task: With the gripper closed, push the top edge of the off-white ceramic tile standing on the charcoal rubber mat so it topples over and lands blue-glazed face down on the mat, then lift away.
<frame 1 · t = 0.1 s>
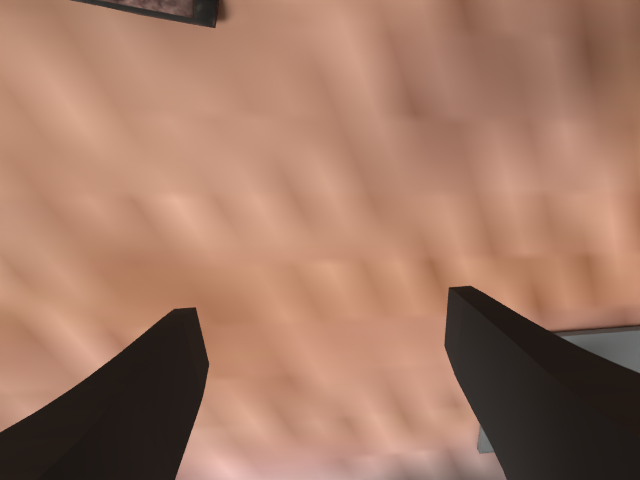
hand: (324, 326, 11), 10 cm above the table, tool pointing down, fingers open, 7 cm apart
mat: (580, 389, 26), on the table
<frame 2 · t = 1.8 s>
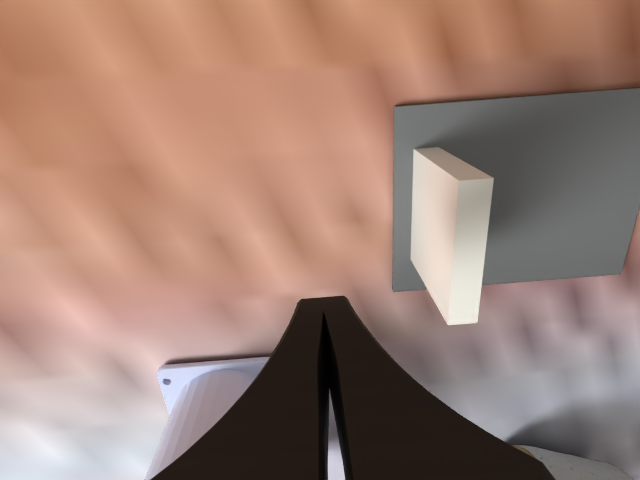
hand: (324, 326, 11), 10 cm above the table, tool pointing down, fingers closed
tile: (423, 206, 20), resting on mat
ceramic mug: (523, 472, 30), on the table
mat: (515, 196, 20), on the table
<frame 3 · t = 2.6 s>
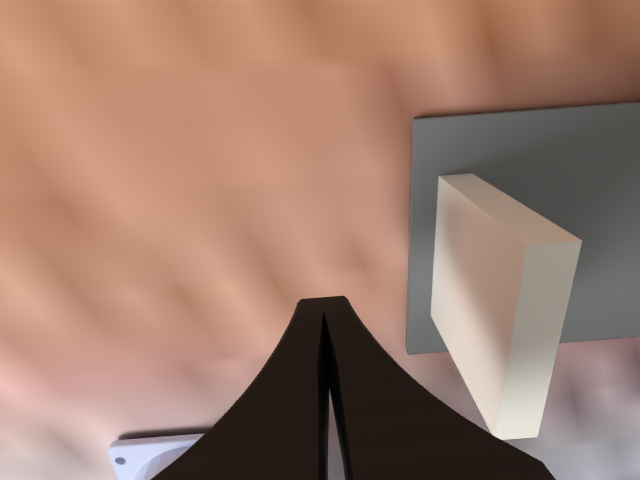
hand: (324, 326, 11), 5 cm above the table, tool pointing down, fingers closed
tile: (449, 250, 15), resting on mat
mat: (570, 236, 15), on the table
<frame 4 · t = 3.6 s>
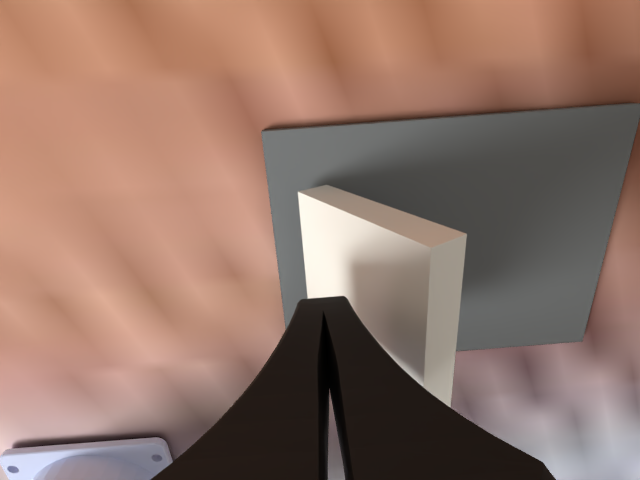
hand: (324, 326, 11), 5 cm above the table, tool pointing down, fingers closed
tile: (318, 263, 15), point 1 cm above the table, tilted 31°, touching mat
mat: (440, 246, 15), on the table
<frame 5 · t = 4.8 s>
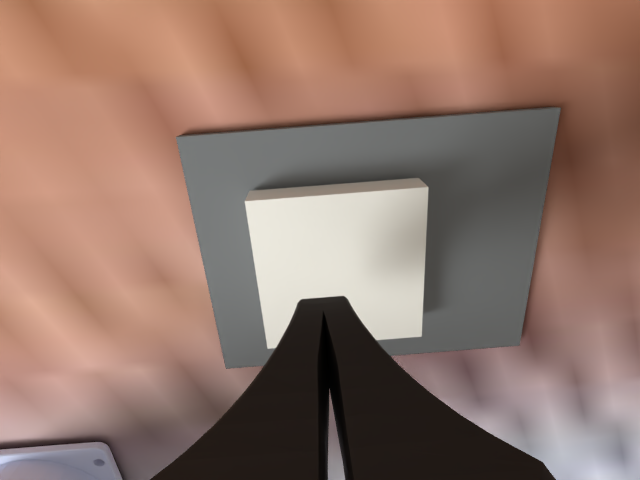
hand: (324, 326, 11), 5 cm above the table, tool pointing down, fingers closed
tile: (258, 273, 14), point 1 cm above the table, tilted 90°, touching mat
mat: (369, 251, 15), on the table
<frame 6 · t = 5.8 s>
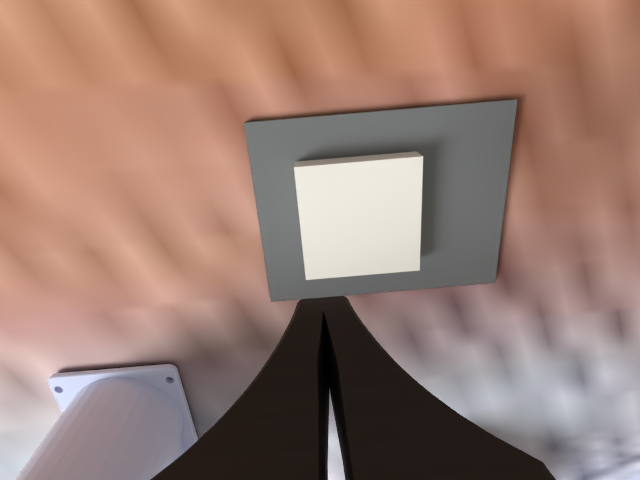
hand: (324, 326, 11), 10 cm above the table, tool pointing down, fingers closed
tile: (300, 222, 20), point 1 cm above the table, tilted 90°, touching mat
mat: (380, 208, 21), on the table
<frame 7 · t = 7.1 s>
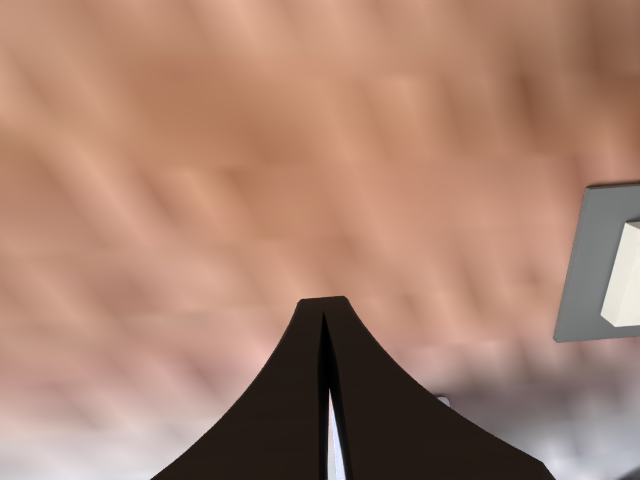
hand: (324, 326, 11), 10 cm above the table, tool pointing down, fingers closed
tile: (619, 276, 22), point 1 cm above the table, tilted 90°, touching mat
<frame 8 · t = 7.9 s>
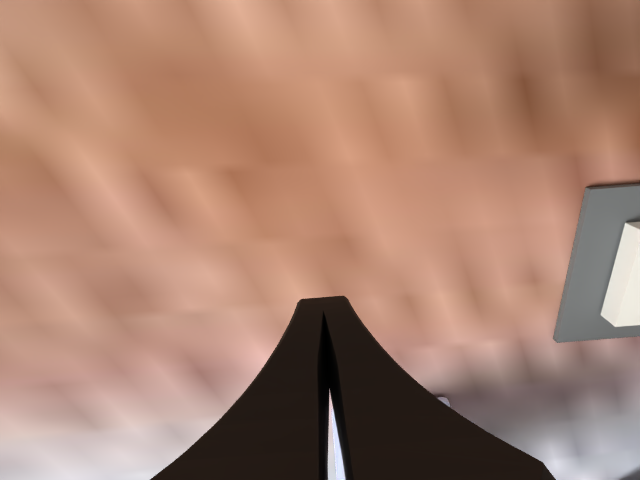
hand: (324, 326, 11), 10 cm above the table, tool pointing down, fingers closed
tile: (619, 276, 22), point 1 cm above the table, tilted 90°, touching mat
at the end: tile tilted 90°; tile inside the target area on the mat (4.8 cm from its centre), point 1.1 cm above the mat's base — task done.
